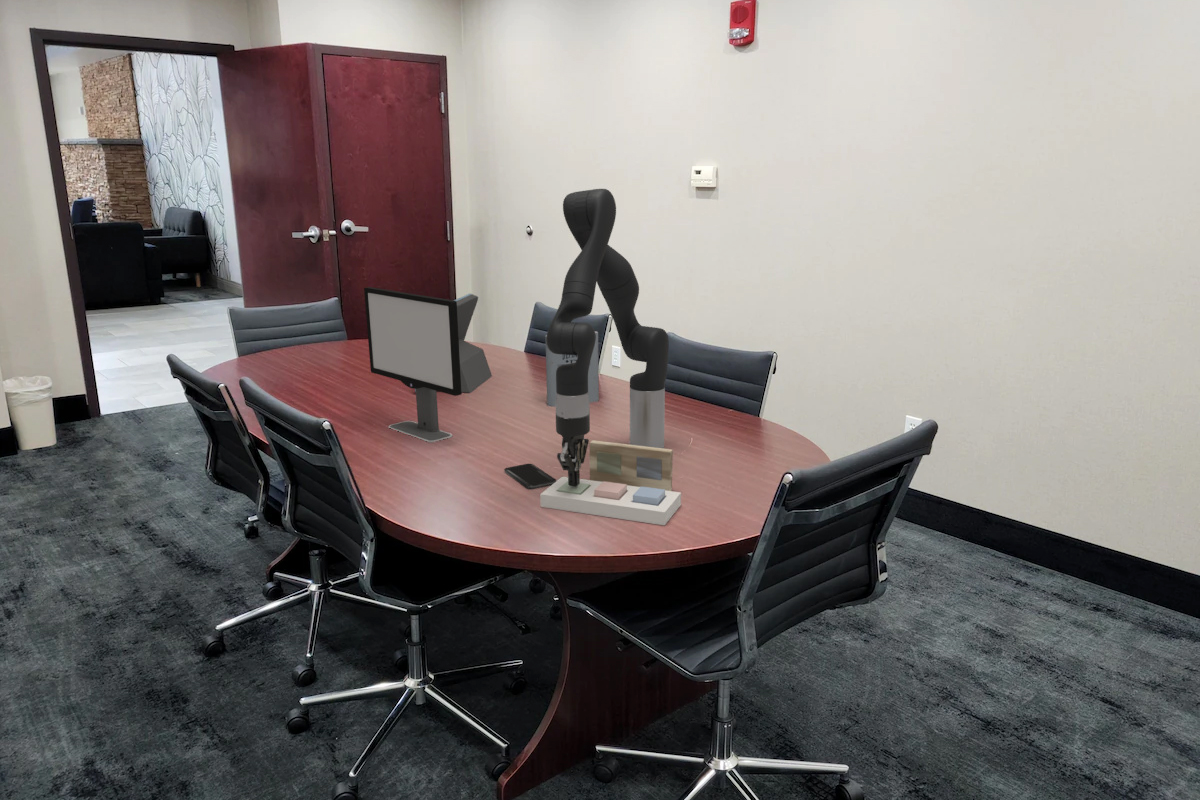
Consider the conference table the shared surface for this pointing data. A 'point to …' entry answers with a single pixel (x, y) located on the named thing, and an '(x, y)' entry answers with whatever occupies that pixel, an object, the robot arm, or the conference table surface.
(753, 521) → the conference table surface
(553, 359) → the flask
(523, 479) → the phone
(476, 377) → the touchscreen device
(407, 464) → the conference table surface
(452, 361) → the computer monitor
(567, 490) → the key sage
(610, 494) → the key rose
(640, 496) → the key slate
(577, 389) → the robot arm
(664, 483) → the card
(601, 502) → the keypad
